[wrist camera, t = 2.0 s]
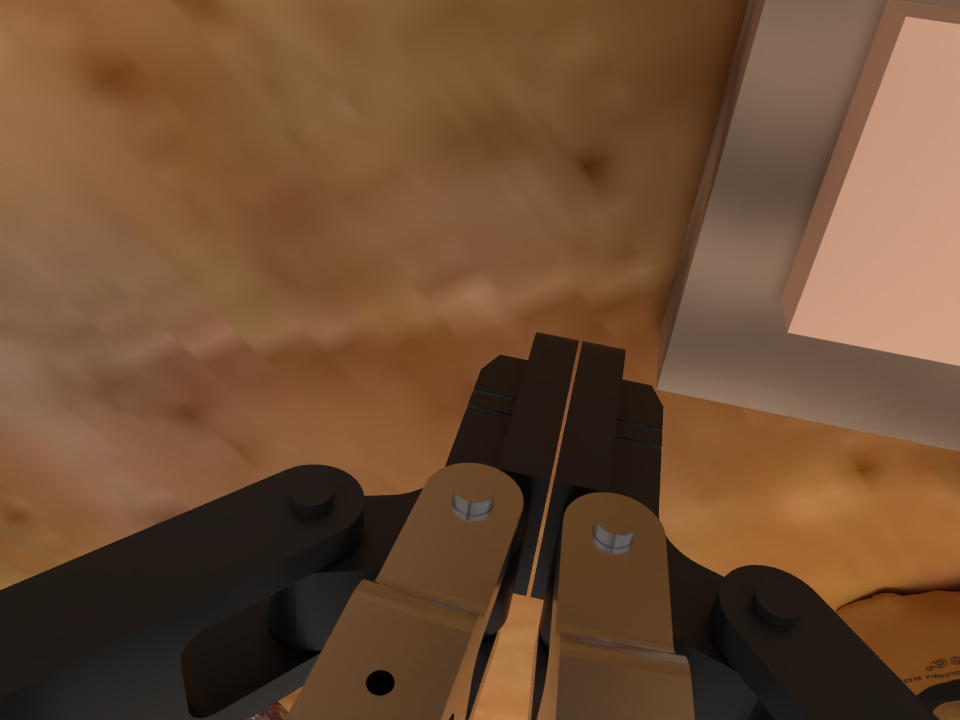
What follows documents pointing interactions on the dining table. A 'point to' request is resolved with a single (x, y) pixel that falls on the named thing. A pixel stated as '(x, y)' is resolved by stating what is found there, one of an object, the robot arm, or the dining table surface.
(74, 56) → the dining table surface
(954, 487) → the dining table surface
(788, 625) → the robot arm
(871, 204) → the pink rectangular block
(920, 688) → the coffee package
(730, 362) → the deck
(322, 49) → the dining table surface
